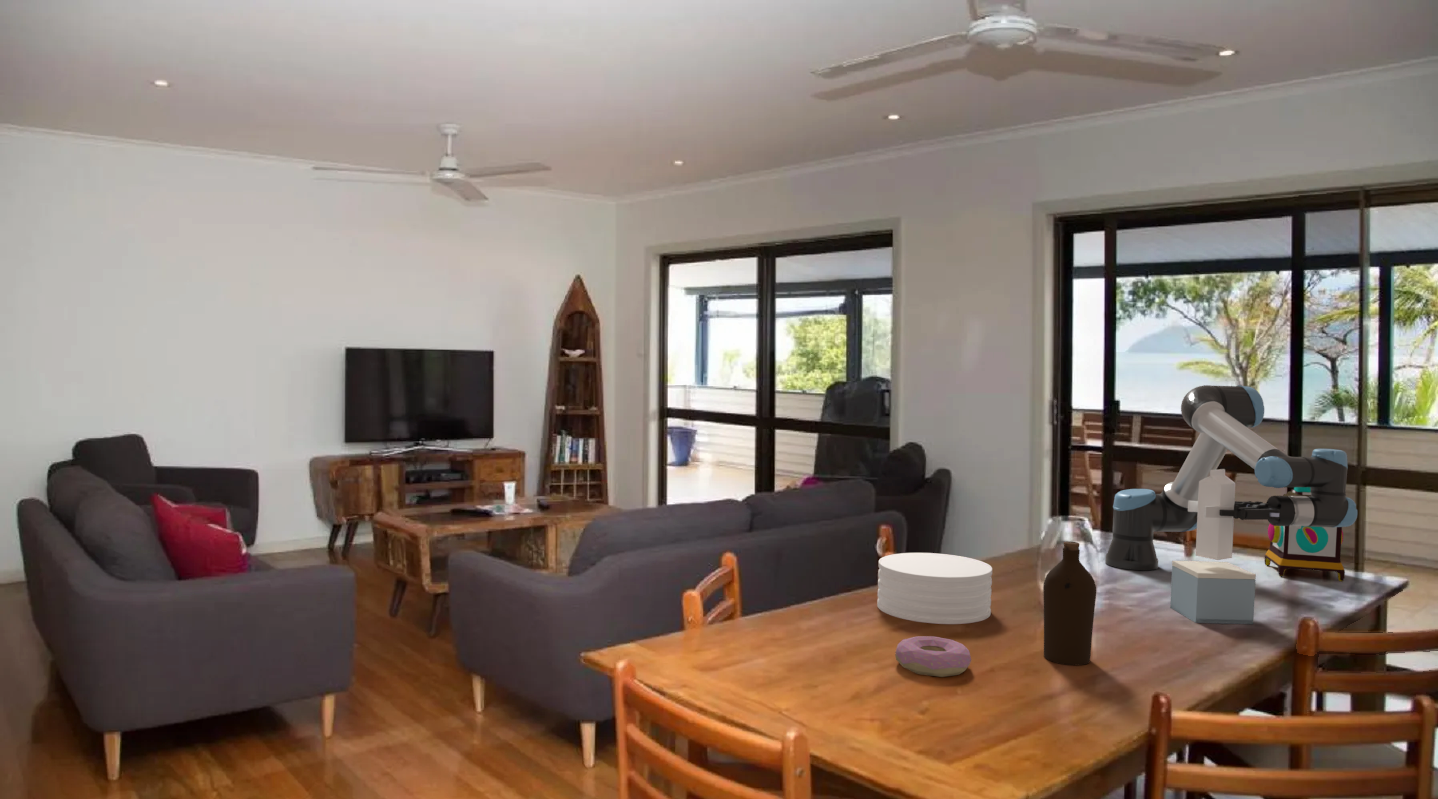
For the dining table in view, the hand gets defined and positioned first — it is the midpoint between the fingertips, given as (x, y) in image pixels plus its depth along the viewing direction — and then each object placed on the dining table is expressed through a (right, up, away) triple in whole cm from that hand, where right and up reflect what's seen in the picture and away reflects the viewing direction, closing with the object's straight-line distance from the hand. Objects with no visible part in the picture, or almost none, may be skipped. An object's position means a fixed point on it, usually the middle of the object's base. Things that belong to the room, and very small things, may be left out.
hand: (1196, 508), depth 247 cm
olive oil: (-45, -28, -36) cm, 64 cm away
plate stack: (-65, -26, +3) cm, 70 cm away
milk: (+4, -12, +1) cm, 13 cm away
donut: (-75, -28, -43) cm, 91 cm away
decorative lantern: (+58, -26, +53) cm, 83 cm away
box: (+4, -27, +1) cm, 27 cm away
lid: (+4, -16, +1) cm, 17 cm away
